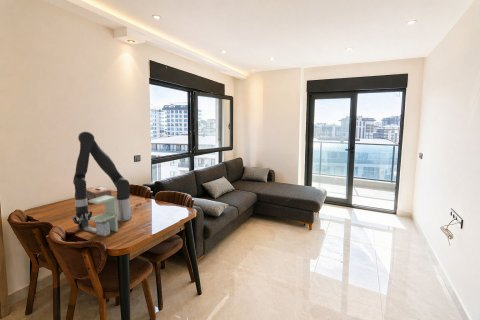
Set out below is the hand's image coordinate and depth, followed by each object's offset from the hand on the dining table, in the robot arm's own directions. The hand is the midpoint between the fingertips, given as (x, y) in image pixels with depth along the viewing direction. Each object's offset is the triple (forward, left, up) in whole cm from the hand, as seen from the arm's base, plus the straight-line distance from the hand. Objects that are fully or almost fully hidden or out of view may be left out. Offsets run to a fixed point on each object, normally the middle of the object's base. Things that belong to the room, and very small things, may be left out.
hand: (83, 227), depth 181 cm
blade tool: (0, +7, -1) cm, 7 cm away
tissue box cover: (-52, -57, -1) cm, 77 cm away
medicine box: (0, +22, -1) cm, 22 cm away
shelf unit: (-2, +21, -1) cm, 21 cm away
